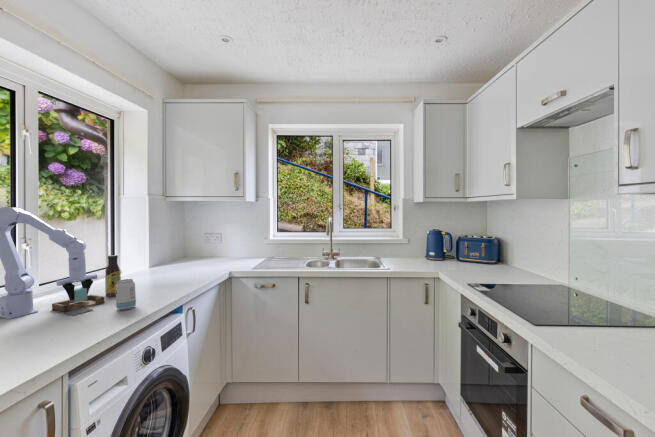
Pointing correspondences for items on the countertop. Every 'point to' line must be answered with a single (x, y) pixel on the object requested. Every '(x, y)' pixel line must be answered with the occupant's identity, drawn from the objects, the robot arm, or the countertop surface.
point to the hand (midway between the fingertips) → (78, 298)
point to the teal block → (80, 294)
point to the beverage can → (125, 294)
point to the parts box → (77, 304)
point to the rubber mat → (78, 311)
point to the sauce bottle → (112, 276)
